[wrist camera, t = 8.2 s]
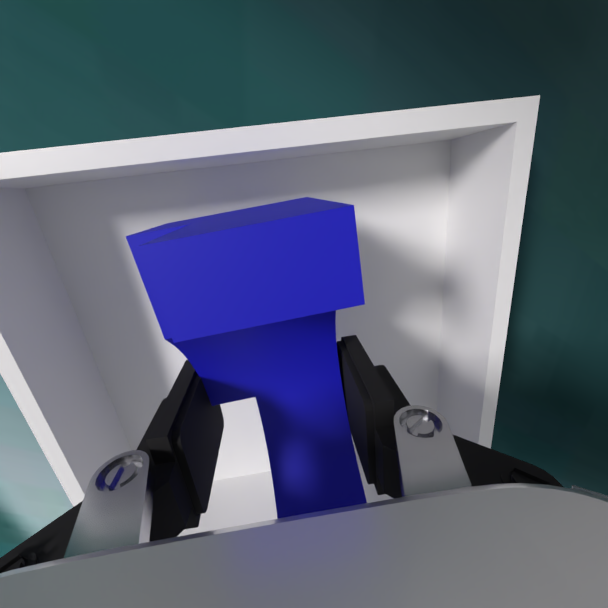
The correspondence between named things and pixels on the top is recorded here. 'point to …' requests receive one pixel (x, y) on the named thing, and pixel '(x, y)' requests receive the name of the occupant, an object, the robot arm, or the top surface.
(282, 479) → the cable clip
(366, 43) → the top surface
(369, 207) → the tray
